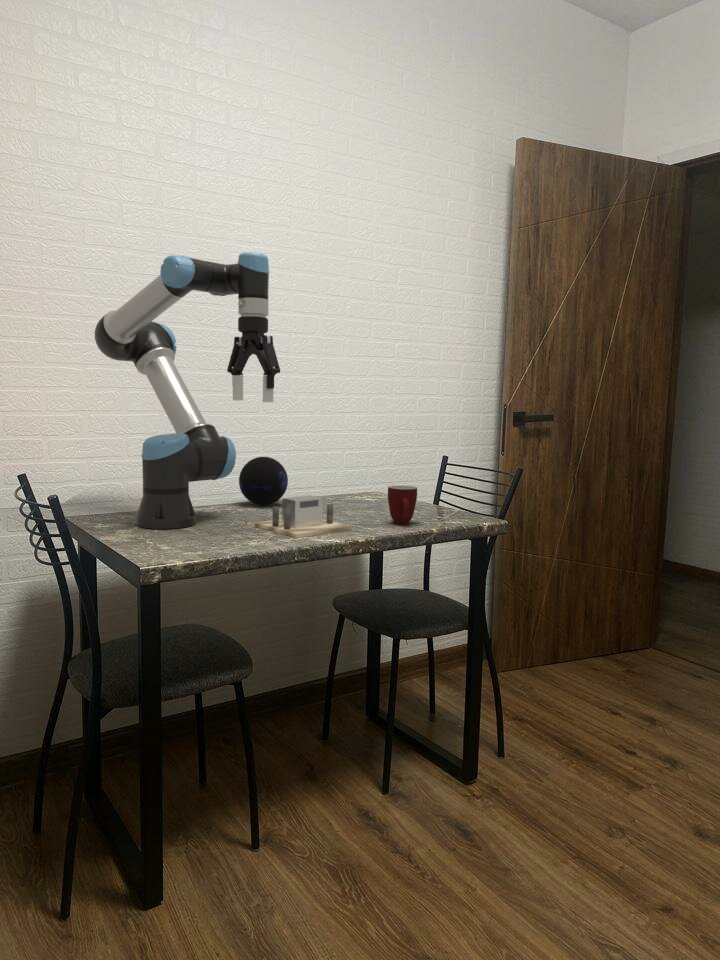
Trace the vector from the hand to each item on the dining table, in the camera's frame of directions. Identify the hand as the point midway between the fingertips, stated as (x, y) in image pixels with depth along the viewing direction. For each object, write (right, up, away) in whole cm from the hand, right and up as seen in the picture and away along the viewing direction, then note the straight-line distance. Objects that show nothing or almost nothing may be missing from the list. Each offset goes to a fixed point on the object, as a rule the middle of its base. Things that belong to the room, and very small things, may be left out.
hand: (252, 401), depth 187 cm
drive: (+12, -32, +4) cm, 34 cm away
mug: (+39, -32, +13) cm, 53 cm away
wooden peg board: (+13, -33, +4) cm, 35 cm away
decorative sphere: (-3, -28, +40) cm, 49 cm away
